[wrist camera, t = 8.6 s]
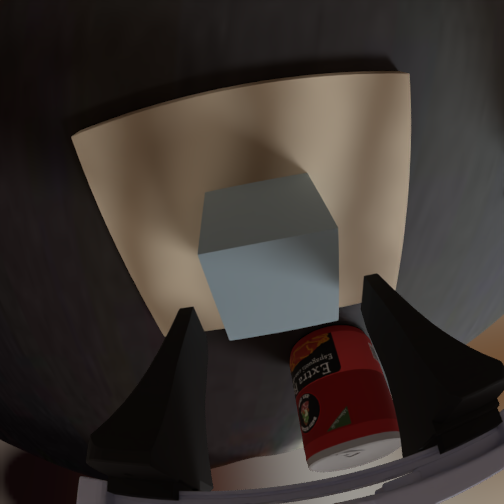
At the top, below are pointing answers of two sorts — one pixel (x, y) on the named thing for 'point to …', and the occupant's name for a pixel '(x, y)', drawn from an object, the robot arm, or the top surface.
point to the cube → (270, 256)
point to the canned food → (342, 400)
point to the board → (253, 175)
